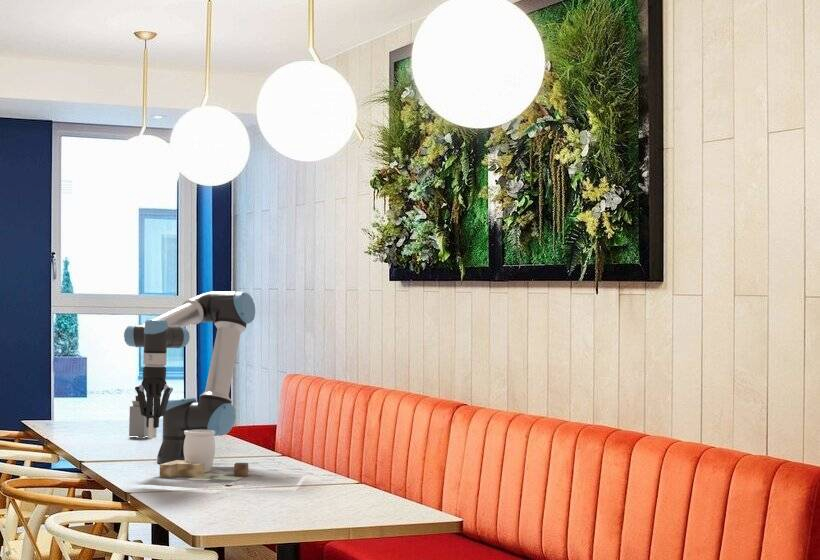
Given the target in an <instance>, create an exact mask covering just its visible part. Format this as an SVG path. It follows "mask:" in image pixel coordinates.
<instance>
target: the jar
mask: <svg viewBox="0 0 820 560" xmlns="http://www.w3.org/2000/svg"><path fill="white" fill-rule="evenodd" d="M184 434H185V435H186V437H185V440H184V458H185V461H188V462H190V463H205V472H210V471H211V469H212V467H213V463H214V459H215V454H216V442H215V441H216V440H215V436H214V434H215V431H214V430H205V429H195V430H186V431H184Z"/></svg>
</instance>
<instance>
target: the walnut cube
mask: <svg viewBox="0 0 820 560" xmlns="http://www.w3.org/2000/svg"><path fill="white" fill-rule="evenodd" d="M233 465H234V466H233V469H234V470H233V474H234V477H246V478H248V477H247V476H248V475H249V462H235V463H234V464H233Z"/></svg>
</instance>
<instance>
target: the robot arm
mask: <svg viewBox="0 0 820 560" xmlns="http://www.w3.org/2000/svg"><path fill="white" fill-rule="evenodd" d="M255 317H256V305H255V302H254V299H253V297H252V296H251V295H250V294H249V293H248V292H246V291H240V290H239V291H238V290H235V291H232V290H231V291H230V290H229V291H226V290H225V291H217V290H216V291H215V290H212V291H211V290H210V291H208V292H203V293H201V294H198V295H196V296H193V297H191V298H188V299H187V300H185V301H184V302H183V303H181V305H180V306H178V307H175V308H174V309H172V310H170V311H168V312H165V313H163V314H161V315H159V316H156V317H155V318H153V319H147V320H145V321H144V323H141V324H130V325H128V326H126V328H125V329H124V332H123V338H124V342H125V344H126V345H127V346H128V347H133V348H134V347H135V348H143V355H142V356H143V357H142V358H143V361H142V364H143V365H144V366H143V367H142V381H141V383H140V385H139V386H135V387H134V390H135V392H136V393H137V396H138V399H139V405H140V410H141V415H142V416H145V417H146V418H147V423H146V426H147V427H149V429H148V437H147V438H148V439H155V438H157V428H159V426H160V418H161V417H162V441H161V445H160V446H159V447H160V448H159V449H158V450H159V451H158V453H157V457H156V462H157V464H159V465H160V464H164V463H168V462H172V461H176V460H185V458H184V440H185V437H186V435H185V434H184V431H186V430H195V429H205V430H214V431H215V434H214V437H219V436H221V437H222V436H225V435H227V434H228V433H229V432H230V431H231V430H232V428H234V427H233V426H234V425H235V421H236V418H237V417H236V408H235V406H234V405H233V404H232V402H233V401H232V399H231V398H230V391H231V384H232V379H233V373H234V369H235V366H236V365H235V364H236V360H237V354H238V350H239V349H238V348H239V343H240V338H241V335H242V333H243V332H245V331H246V330H247V329H246V328H247V324H251V323H252V322H253V321H254V319H255ZM200 323H214V326H215V327H216V329H217V330H216V335H215V338H214V339H215V340H214V345H213V350H212V354H211V360H210V365H209V370H208V375H207V381H206V385H205V390H204V392H203V393H201V394H200V395H199V399H198V400H197V398H196V397H190V398H189V397H188V398H177V399H170V396H171V393H173V391H174V387H170V386H169V385H167V381H166V377H167V367H166V365H167V358H168V357H167V350H168V349H181V348H184V347H186V346H188V344H189V341H190V332H189V330H188V328H186V327H188V326H190V325H192V326H193V325H199V324H200ZM162 393H163V394H162ZM161 397H162V398H161ZM146 401H147V403H146Z"/></svg>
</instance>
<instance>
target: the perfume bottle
mask: <svg viewBox="0 0 820 560" xmlns="http://www.w3.org/2000/svg"><path fill="white" fill-rule="evenodd" d="M131 403H132V406H131V405H130V406H129V421H128V422H129V426H128V427H129V428H128V437H129V436H138V437H145V436H148V429H149V427H147V426H146V423H147V418H146V417H145V416H142V415H141V410H140V405H139V399H138V395H135V400H132V401H131ZM146 403H147V400H146Z"/></svg>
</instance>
